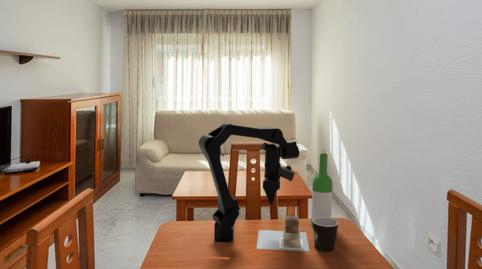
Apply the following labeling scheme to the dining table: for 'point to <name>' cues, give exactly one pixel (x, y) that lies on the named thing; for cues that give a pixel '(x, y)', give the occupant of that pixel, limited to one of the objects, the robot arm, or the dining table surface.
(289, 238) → the beech block
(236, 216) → the robot arm
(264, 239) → the build board
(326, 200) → the wine bottle
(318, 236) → the coffee mug
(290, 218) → the walnut cube
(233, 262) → the dining table surface
